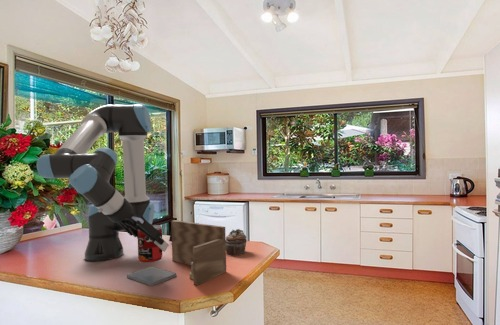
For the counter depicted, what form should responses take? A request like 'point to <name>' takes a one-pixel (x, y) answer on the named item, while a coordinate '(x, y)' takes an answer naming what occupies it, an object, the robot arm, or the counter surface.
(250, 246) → the counter surface
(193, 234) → the walnut rack
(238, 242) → the cupcake
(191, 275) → the offcut stack
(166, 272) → the slate tile
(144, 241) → the canned food
